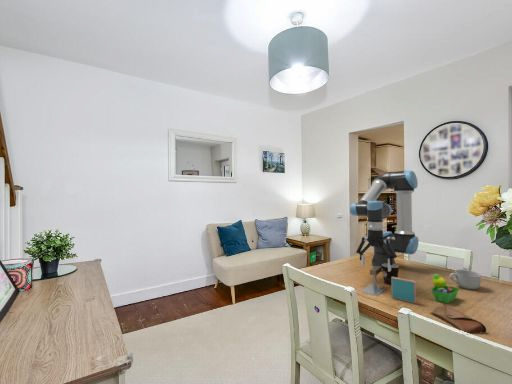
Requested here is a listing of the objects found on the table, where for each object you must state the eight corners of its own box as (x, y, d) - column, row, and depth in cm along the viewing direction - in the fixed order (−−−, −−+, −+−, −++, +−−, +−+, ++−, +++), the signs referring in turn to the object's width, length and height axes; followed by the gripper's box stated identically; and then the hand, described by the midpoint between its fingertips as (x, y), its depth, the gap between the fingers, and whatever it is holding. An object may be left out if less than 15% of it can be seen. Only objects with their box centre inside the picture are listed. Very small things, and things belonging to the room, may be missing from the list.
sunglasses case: (426, 312, 110) (433, 298, 111) (439, 319, 111) (446, 305, 112) (466, 335, 93) (474, 318, 93) (481, 343, 94) (489, 326, 94)
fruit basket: (449, 305, 116) (448, 280, 116) (427, 298, 124) (427, 275, 124) (459, 299, 122) (459, 275, 122) (438, 293, 130) (438, 270, 130)
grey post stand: (372, 283, 146) (371, 264, 146) (387, 286, 140) (386, 267, 140) (361, 292, 134) (360, 271, 134) (377, 296, 128) (376, 274, 128)
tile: (392, 296, 127) (392, 276, 127) (416, 302, 120) (415, 281, 120) (391, 298, 126) (391, 277, 126) (415, 303, 119) (414, 282, 119)
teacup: (475, 284, 139) (474, 270, 139) (486, 292, 129) (485, 276, 129) (444, 282, 144) (444, 268, 144) (453, 289, 133) (452, 274, 133)
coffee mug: (401, 286, 140) (401, 268, 140) (384, 285, 142) (384, 267, 142) (394, 279, 151) (394, 262, 151) (378, 278, 153) (378, 261, 153)
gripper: (349, 228, 145) (350, 265, 145) (398, 232, 128) (399, 274, 128) (355, 226, 151) (355, 263, 151) (402, 230, 134) (403, 271, 134)
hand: (376, 268), depth 139 cm, fingers open, 13 cm apart
